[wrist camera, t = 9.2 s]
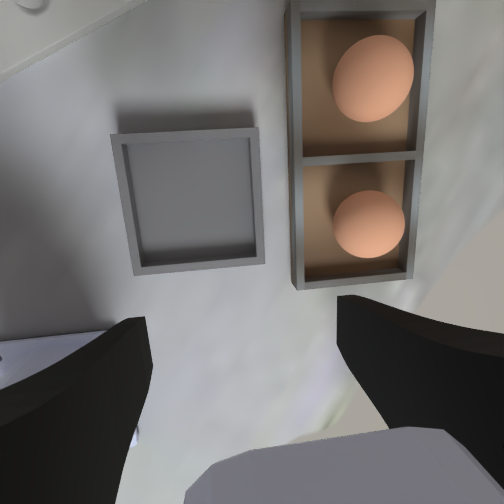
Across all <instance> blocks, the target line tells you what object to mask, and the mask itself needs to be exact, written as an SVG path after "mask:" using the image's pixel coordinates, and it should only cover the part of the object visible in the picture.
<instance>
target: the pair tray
mask: <svg viewBox="0 0 504 504" xmlns="http://www.w3.org/2000/svg"><path fill="white" fill-rule="evenodd" d="M435 8H436V0H291V1H290V3H289V5H288V8H287V10H286V12H285V14H284V19H285V56H286V93H287V130H288V168H289V205H290V242H291V279H292V284H293V285H294V287H295V288H296V290H307V289H316V288H326V287H336V286H346V285H356V284H366V283H376V282H385V281H395V280H405V279H413V272H414V260H415V248H416V236H417V224H418V212H419V200H420V188H421V176H422V164H423V152H424V140H425V128H426V116H427V104H428V92H429V80H430V68H431V56H432V44H433V32H434V20H435ZM375 35H386V36H391V37H393V38H396V39H397V40H399V41H400V42H402V43H403V44H404V45H405V46H406V48H407V49H408V51H409V52H410V54H411V57H412V60H413V65H414V77H413V82H412V86H411V89H410V91H409V93H408V95H407V97H406V98H405V100H404V101H403V103H402V104H401V105H400V106H399V107H398V108H397V109H396V110H395V111H394V112H393V113H391V114H390V115H388V116H387V117H385V118H383V119H380V120H377V121H373V122H359V121H355V120H352V119H350V118H348V117H347V116H345V115H344V114H343V113H342V112H341V111H340V110H339V108H338V107H337V105H336V103H335V100H334V97H333V92H332V82H333V76H334V72H335V69H336V67H337V64H338V62H339V61H340V59H341V57H342V56H343V55H344V53H345V52H346V51H347V50H348V49H349V48H350V47H351V46H353V45H354V44H355V43H357V42H358V41H360V40H362V39H364V38H367V37H370V36H375ZM366 190H374V191H379V192H383V193H385V194H387V195H389V196H391V197H392V198H393V199H394V200H395V201H396V202H397V203H398V204H399V205H400V207H401V209H402V211H403V214H404V218H405V228H404V233H403V235H402V238H401V240H400V241H399V243H398V244H397V245H396V246H395V247H394V248H393V249H392V250H391V251H389V252H388V253H386V254H384V255H381V256H378V257H374V258H361V257H357V256H354V255H352V254H350V253H348V252H347V251H345V250H344V249H343V248H342V247H341V246H340V245H339V243H338V242H337V240H336V238H335V236H334V232H333V218H334V215H335V212H336V210H337V208H338V207H339V205H340V204H341V203H342V202H343V201H344V200H345V199H346V198H348V197H349V196H351V195H352V194H355V193H357V192H361V191H366Z"/></svg>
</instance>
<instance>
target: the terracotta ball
mask: <svg viewBox="0 0 504 504" xmlns="http://www.w3.org/2000/svg"><path fill="white" fill-rule="evenodd" d="M404 228H405V218H404V214H403V211H402V209H401V207H400V205H399V204H398V203H397V202H396V201H395V200H394V199H393V198H392V197H391V196H389V195H387V194H385V193H383V192H379V191H374V190H366V191H361V192H357V193H355V194H352V195H351V196H349V197H348V198H346V199H345V200H344V201H343V202H342V203H341V204H340V205H339V207H338V208H337V210H336V212H335V215H334V218H333V232H334V236H335V238H336V240H337V242H338V243H339V245H340V246H341V247H342V248H343V249H344V250H345V251H347V252H348V253H350V254H352V255H354V256H357V257H361V258H374V257H378V256H381V255H384V254H386V253H388V252H389V251H391V250H392V249H393V248H394V247H395V246H396V245H397V244H398V243H399V241H400V240H401V238H402V235H403V233H404Z"/></svg>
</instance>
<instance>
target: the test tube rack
mask: <svg viewBox="0 0 504 504" xmlns="http://www.w3.org/2000/svg"><path fill="white" fill-rule="evenodd" d="M146 1H148V0H0V83H1V82H3V81H4V80H6V79H8V78H10V77H12V76H13V75H15V74H17V73H19V72H21V71H22V70H24V69H26V68H28V67H30V66H31V65H33V64H35V63H37V62H38V61H40V60H42V59H44V58H46V57H47V56H49V55H51V54H53V53H55V52H56V51H58V50H60V49H62V48H64V47H65V46H67V45H69V44H71V43H73V42H74V41H76V40H78V39H80V38H82V37H83V36H85V35H87V34H89V33H90V32H92V31H94V30H96V29H98V28H99V27H101V26H103V25H105V24H107V23H108V22H110V21H112V20H114V19H116V18H117V17H119V16H121V15H123V14H125V13H126V12H128V11H130V10H132V9H134V8H135V7H137V6H139V5H141V4H142V3H144V2H146Z"/></svg>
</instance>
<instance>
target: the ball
mask: <svg viewBox="0 0 504 504" xmlns="http://www.w3.org/2000/svg"><path fill="white" fill-rule="evenodd" d="M413 77H414V65H413V60H412V57H411V54H410V52H409V51H408V49H407V48H406V46H405V45H404V44H403V43H402V42H400V41H399V40H397V39H396V38H393V37H391V36H386V35H375V36H370V37H367V38H364V39H362V40H360V41H358V42H357V43H355V44H354V45H353V46H351V47H350V48H349V49H348V50H347V51H346V52H345V53H344V55H343V56H342V57H341V59H340V61H339V62H338V64H337V67H336V69H335V72H334V76H333V82H332V92H333V97H334V100H335V103H336V105H337V107H338V108H339V110H340V111H341V112H342V113H343V114H344V115H345V116H347V117H348V118H350V119H352V120H355V121H359V122H373V121H377V120H380V119H383V118H385V117H387V116H388V115H390V114H391V113H393V112H394V111H395V110H396V109H397V108H398V107H399V106H400V105H401V104H402V103H403V101H404V100H405V98H406V97H407V95H408V93H409V91H410V89H411V86H412V82H413Z"/></svg>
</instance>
